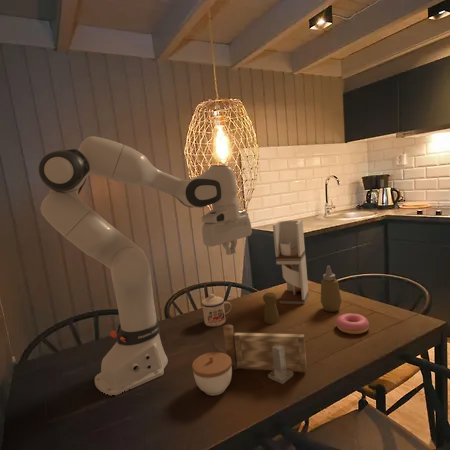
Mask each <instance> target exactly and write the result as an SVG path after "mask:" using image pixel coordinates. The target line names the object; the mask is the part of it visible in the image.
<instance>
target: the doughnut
mask: <svg viewBox="0 0 450 450" xmlns="http://www.w3.org/2000/svg"><path fill="white" fill-rule="evenodd" d="M335 324H336V327H337V329H338V330H340V332H342V333H344V334H345V333H346V334H350V335H360V334H364V333H366V332H367V331H368V330H369V328H370V322H369V320H368V318H366V317H365V316H364V315H362V314H359V313H354V312H352V313H349V312H347V313H342V314H340V315H338V317H336V320H335Z"/></svg>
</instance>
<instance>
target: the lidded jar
mask: <svg viewBox="0 0 450 450" xmlns="http://www.w3.org/2000/svg"><path fill="white" fill-rule="evenodd" d="M191 368H192V372H193V373H192V374H193V377H194V380H195V383H196V386H197V387H198V388H199V389H200V390H201V391H202V392H204V393H205V394H206V395H208V396H212V397H213V396H214V397H215V396H219V395H221V394H223V393H225V391H226V389H227V388H228V386H230V383H231V381H232V376H233V370H232V361H231V358H230V357H229V356H228V355H227V354H226V352H219V351H213V352H206V353H204V354H202V355H201V354H200V355H199V356H197V358H195V359H194V360H193V362H192V365H191Z"/></svg>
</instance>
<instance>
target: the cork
mask: <svg viewBox="0 0 450 450" xmlns="http://www.w3.org/2000/svg"><path fill="white" fill-rule="evenodd" d="M277 298H278V297H277V295H276V294H275V293H274V292H266V293H264V294H263V296H262V300H263V302H264V318H263V322H264V323H265V324H267V325H268V324H269V325H274V324H277V323H279V322H280V321H281V320H280V315H279V311H278V308H277V304H276V303H277Z"/></svg>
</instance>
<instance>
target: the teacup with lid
mask: <svg viewBox="0 0 450 450" xmlns="http://www.w3.org/2000/svg"><path fill="white" fill-rule="evenodd" d="M225 305H228V309H227V311H226V310H225ZM201 306H202V312H203V320H204V324H205V326H207V327H219V326H222V325H223V324H225V322H226V321H227V319H226V315H227V314H229V313H230V312H231V311H232V304H231V303H230V302H229V301H225V300H224V298H223V297H221V296H218V295H217V296H216V295H215V294H214V293H210V294H209V296H208V297H206V298H204V299H203V300H202V301H201Z"/></svg>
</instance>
